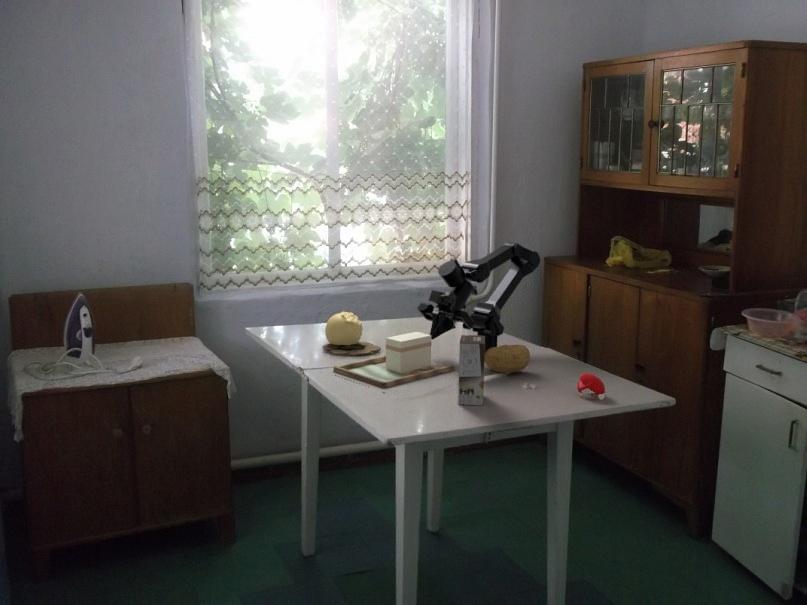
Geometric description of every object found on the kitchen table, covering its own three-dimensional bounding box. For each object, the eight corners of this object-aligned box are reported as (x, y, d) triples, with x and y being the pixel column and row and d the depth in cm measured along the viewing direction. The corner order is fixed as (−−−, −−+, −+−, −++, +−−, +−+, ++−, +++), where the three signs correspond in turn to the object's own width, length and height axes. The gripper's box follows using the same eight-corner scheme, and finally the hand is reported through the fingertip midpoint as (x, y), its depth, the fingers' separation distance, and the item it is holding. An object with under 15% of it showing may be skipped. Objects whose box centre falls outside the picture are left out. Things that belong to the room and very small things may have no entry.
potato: (476, 370, 242) (477, 343, 241) (520, 366, 247) (521, 340, 245) (491, 379, 233) (492, 351, 232) (536, 375, 238) (537, 348, 236)
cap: (569, 384, 219) (585, 377, 214) (580, 372, 222) (596, 365, 218) (587, 408, 219) (603, 402, 214) (597, 396, 223) (613, 390, 218)
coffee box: (483, 406, 210) (485, 343, 207) (457, 404, 210) (459, 342, 207) (483, 395, 219) (485, 335, 216) (459, 394, 219) (460, 334, 216)
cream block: (416, 361, 246) (416, 331, 244) (430, 365, 242) (431, 335, 240) (385, 368, 238) (385, 337, 236) (400, 373, 234) (400, 341, 232)
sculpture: (363, 348, 265) (363, 315, 263) (324, 349, 264) (324, 315, 262) (362, 340, 276) (362, 308, 274) (325, 340, 275) (325, 308, 273)
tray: (403, 359, 253) (403, 351, 253) (454, 373, 238) (454, 365, 238) (333, 375, 235) (333, 366, 234) (383, 392, 220) (383, 383, 219)
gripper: (422, 276, 252) (394, 316, 246) (468, 284, 238) (440, 327, 233) (440, 298, 258) (413, 339, 253) (485, 308, 245) (458, 350, 240)
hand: (430, 338), depth 244 cm, fingers closed
